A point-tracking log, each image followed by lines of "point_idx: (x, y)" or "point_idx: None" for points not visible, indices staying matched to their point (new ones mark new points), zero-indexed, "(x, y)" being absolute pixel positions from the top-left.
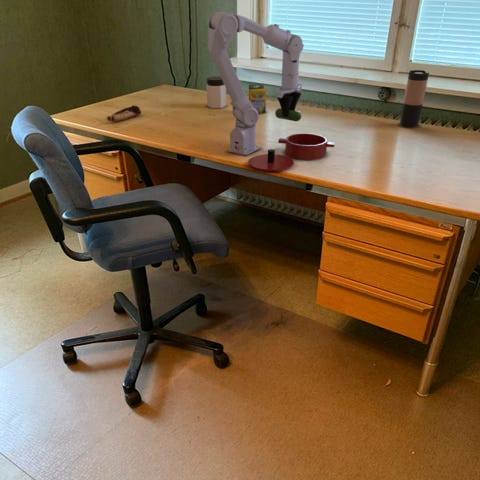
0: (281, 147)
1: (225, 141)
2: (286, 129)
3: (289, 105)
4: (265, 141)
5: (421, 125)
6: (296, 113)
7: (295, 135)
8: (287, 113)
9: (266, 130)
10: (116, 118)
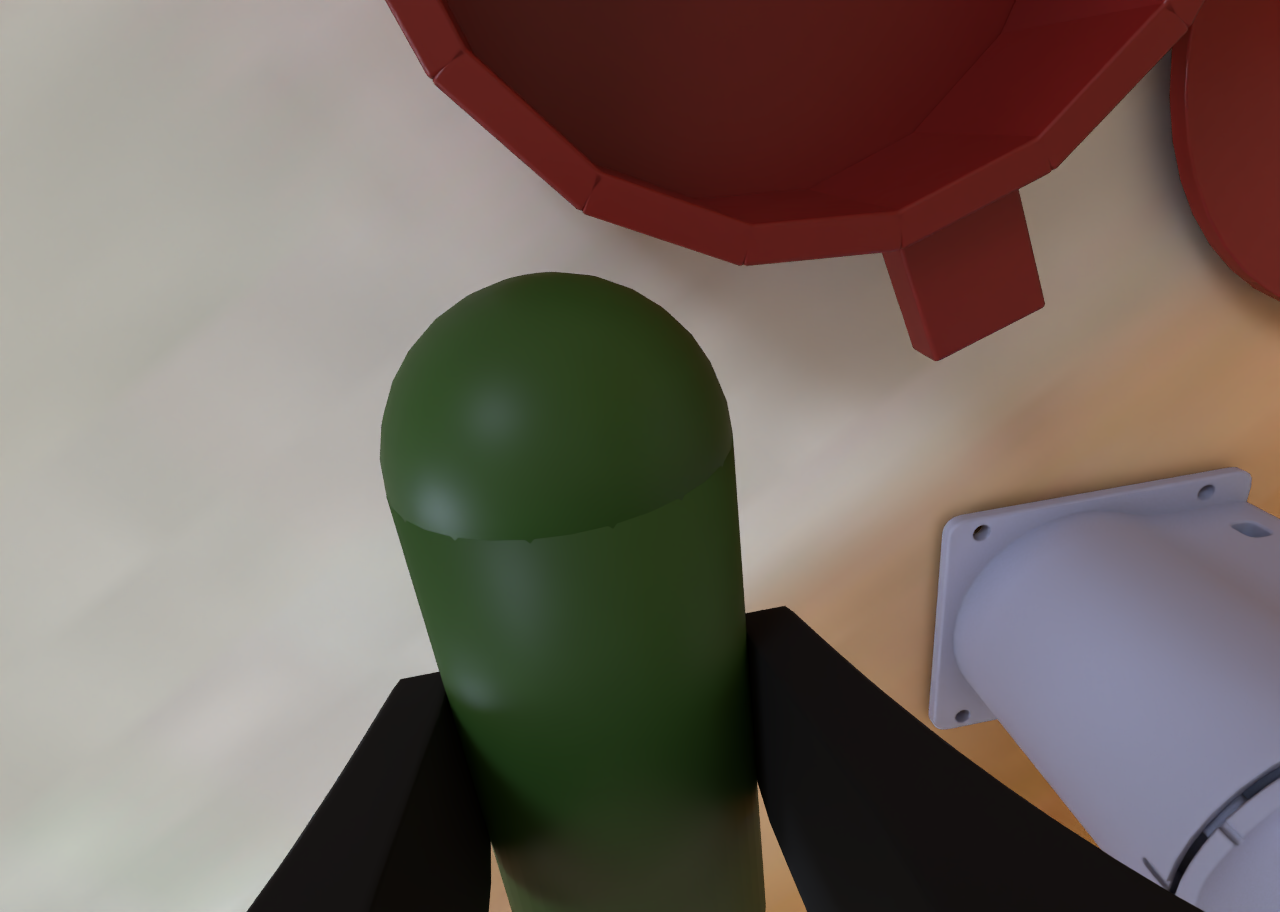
0: (732, 365)
1: None
2: (55, 811)
3: (1026, 870)
4: None
5: None
6: (683, 436)
7: (685, 201)
8: (838, 666)
9: None
10: None
